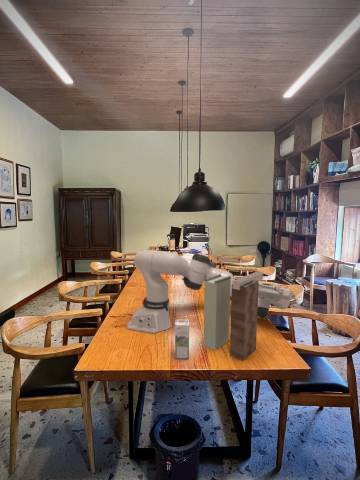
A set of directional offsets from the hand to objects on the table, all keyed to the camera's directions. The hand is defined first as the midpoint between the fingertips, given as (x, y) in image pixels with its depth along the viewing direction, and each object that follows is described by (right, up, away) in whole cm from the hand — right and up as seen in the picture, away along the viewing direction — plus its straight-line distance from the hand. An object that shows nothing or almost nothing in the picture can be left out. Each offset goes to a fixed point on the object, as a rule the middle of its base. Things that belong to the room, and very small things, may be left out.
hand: (266, 286), depth 130 cm
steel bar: (-12, +4, -15) cm, 19 cm away
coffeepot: (-13, -13, +107) cm, 108 cm away
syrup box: (-40, -26, -17) cm, 50 cm away
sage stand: (-24, -25, -6) cm, 35 cm away
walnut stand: (-14, -26, -14) cm, 32 cm away
